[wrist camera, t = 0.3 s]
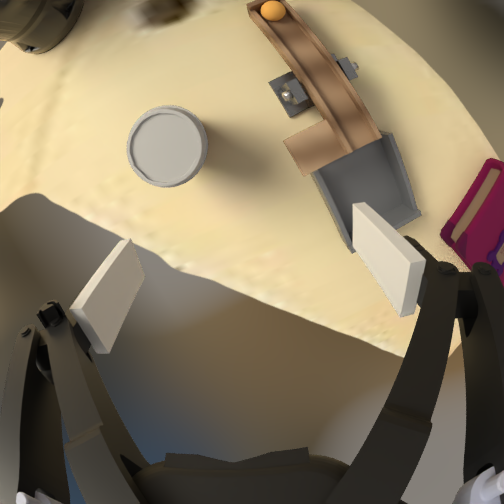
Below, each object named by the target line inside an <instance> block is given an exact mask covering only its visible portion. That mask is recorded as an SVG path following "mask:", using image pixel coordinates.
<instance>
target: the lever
mask: <svg viewBox="0 0 504 504" xmlns="http://www.w3.org/2000/svg"><path fill="white" fill-rule="evenodd" d="M268 1H278V2H280V3H282V4H283V5H284V7H285V10H286V13H285V15H284V17H283V18H282V19H280V20H277V21H270V20H267V19H265V18H264V17H263V16H262V14H261V7H262V5H263V4H264V3H266V2H268ZM246 5H247V9H248V13H249V17H250V18H251V19H252V20H253V21H254V22H255V24H256V25H257V26H258V27H259V28H260V30H261V31H262V32H263V33H264V34H265V36H266V37H267V38H268V39H269V41H270V42H271V43H272V44H273V46H274V47H275V48H276V50H277V51H278V52H279V54H280V55H281V56H282V58H283V59H284V60H285V62H286V63H287V64H288V66H289V67H290V69H291V70H292V71H293V73H294V74H295V76H296V77H297V79H298V80H299V81H300V83H301V84H302V86H303V87H304V89H305V90H306V92H307V93H308V95H309V96H310V98H311V100H312V101H313V103H314V104H315V106H316V107H317V109H318V111H319V112H320V114H321V115H322V117H323V119H324V120H323V121H321V122H319V123H317V124H315V125H313V126H311V127H309V128H307V129H305V130H303V131H301V132H299V133H297V134H295V135H293V136H291V137H289V138H288V139H286V140H284V141H283V142H284V144H285V145H286V147H287V149H288V150H289V152H290V154H291V155H292V157H293V159H294V161H295V162H296V164H297V166H298V168H299V169H300V171H301V173H302V175H303V176H306V175H307V174H309V173H311V172H313V171H315V170H317V169H319V168H321V167H323V166H325V165H327V164H329V163H331V162H333V161H334V160H336V159H338V158H340V157H342V156H344V155H346V154H349V153H351V152H353V151H354V150H356V149H358V148H360V147H362V146H364V145H366V144H368V143H371V142H373V141H375V140H377V139H380V138H382V136H381V134H380V132H379V130H378V128H377V127H376V125H375V123H374V121H373V119H372V118H371V116H370V114H369V112H368V111H367V109H366V107H365V106H364V104H363V102H362V101H361V99H360V97H359V96H358V94H357V93H356V91H355V89H354V88H353V86H352V85H351V83H350V82H349V80H348V79H347V77H346V76H345V74H344V73H343V71H342V70H341V68H340V67H339V66H338V64H337V63H336V61H335V60H334V59H333V57H332V56H331V55H330V53H329V52H328V51H327V49H326V48H325V47H324V45H323V44H322V43H321V41H320V40H319V39H318V38H317V36H316V35H315V34H314V33H313V31H312V30H311V29H310V28H309V27H308V25H307V24H306V23H305V22H304V21H303V20H302V18H301V17H300V16H299V15H298V14H297V13H296V12H295V11H294V10H293V8H292V7H291V6H290V5H289V4H288V3H287V2H286V1H285V0H255V1H253V2H251V3H248V4H246Z"/></svg>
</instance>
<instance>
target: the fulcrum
mask: <svg viewBox="0 0 504 504" xmlns="http://www.w3.org/2000/svg"><path fill="white" fill-rule="evenodd" d="M331 56H332V57H333V59H334V60H335V61H336V63H337V64H338V66H339V67H340V68H341V70H342V71H343V73H344V74H345V76H346V77H347V79H348V80H352V79H354V78H357V77H358V76H357V74H356V72H355V70H358V65H357V64H356V63H355V62H352V63H350V61H349V59H348V58H347V57H345V58H343V59H340V60H337V58H336V56H335V55H334V54H331ZM349 82H350V81H349ZM268 83H269V85H270V86H271V88H272V89H273V91H274V93H275V94H276V96H277V97H278V99H279V101H280V102H281V104H282V106H283V107H284V109H285V111H286V113H287V114H288V116H289V117H291V116H293V115H295V114H297V113H299V112H301V111H303V110H305V109H307V108H309V107H311V106H314V105H315V104H314V103H313V101H312V100H311V98H310V96H309V95H308V93H307V92H306V90H305V89H304V87H303V86H302V84H301V83H300V81H299V80H298V79H297V77H296V76H295V74H294V73H293V71H291V72H289V73H287V74H285V75H282V76H280V77H278V78H276V79H274V80H272V81H270V82H268ZM351 85H352V84H351Z"/></svg>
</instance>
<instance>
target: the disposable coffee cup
mask: <svg viewBox="0 0 504 504" xmlns="http://www.w3.org/2000/svg"><path fill="white" fill-rule="evenodd" d="M207 150H208V139H207V134H206V131H205V128H204V127H203V125H202V123H201V121H200V120H199V119H198V118H197V117H196V116H195V115H194V114H193V113H191V112H190V111H189V110H187V109H184V108H182V107H179V106H174V105H164V106H159V107H156V108H153V109H151V110H149V111H147V112H146V113H144V114H143V115H142V116H141V117H140V118H139V119H138V120H137V121H136V122H135V124H134V125H133V127H132V129H131V131H130V134H129V137H128V141H127V156H128V160H129V163H130V165H131V167H132V169H133V171H134V172H135V173H136V174H137V175H138V176H139V177H140V178H141V179H142V180H144V181H146V182H147V183H149V184H152V185H154V186H158V187H175V186H179V185H181V184H184V183H186V182H187V181H189V180H190V179H192V178H193V177H194V176H195V175H196V174H197V173H198V172H199V170H200V169H201V168H202V166H203V164H204V162H205V159H206V156H207Z"/></svg>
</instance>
